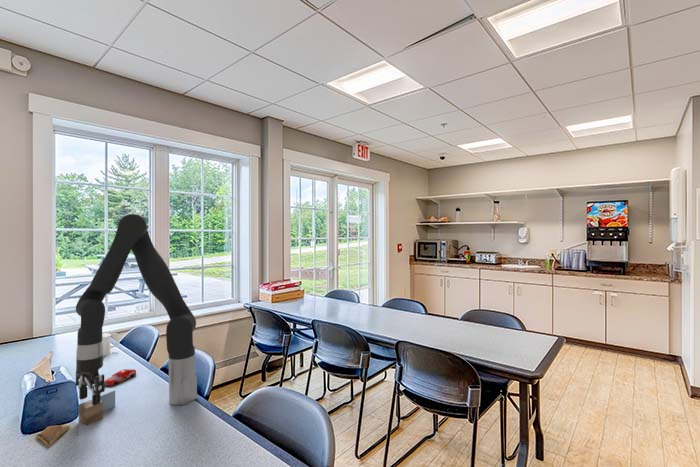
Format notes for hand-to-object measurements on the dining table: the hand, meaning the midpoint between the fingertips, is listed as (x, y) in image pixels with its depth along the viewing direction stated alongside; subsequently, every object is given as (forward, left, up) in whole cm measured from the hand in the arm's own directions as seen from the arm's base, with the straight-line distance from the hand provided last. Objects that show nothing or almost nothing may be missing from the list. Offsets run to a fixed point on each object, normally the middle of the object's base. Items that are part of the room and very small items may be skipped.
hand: (89, 401), depth 122 cm
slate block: (+4, -7, -6) cm, 10 cm away
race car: (+23, -24, -7) cm, 34 cm away
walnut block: (-1, 0, -6) cm, 6 cm away
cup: (+66, -40, -7) cm, 77 cm away
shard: (-1, +10, -7) cm, 12 cm away
